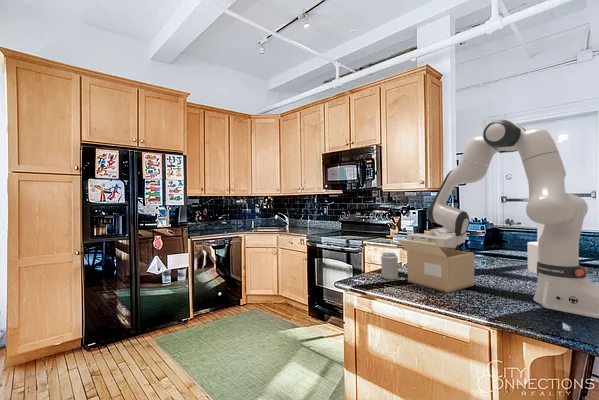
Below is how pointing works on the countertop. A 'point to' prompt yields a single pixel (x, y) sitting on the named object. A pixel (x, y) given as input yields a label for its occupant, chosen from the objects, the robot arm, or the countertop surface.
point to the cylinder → (534, 250)
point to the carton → (441, 270)
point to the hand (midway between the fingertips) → (417, 241)
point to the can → (389, 266)
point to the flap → (422, 247)
